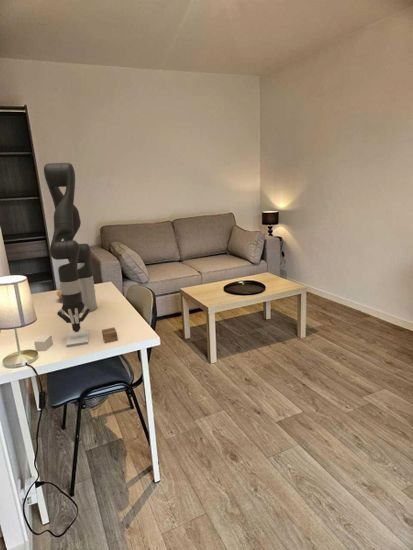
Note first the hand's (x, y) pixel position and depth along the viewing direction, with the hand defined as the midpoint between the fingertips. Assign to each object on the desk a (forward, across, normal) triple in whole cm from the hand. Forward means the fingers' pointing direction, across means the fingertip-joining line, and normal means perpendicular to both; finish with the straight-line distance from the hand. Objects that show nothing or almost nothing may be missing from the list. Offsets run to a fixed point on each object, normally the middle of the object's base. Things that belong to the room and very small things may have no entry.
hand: (76, 331), depth 147 cm
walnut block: (+4, -13, +4) cm, 14 cm away
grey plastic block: (+4, +12, +4) cm, 13 cm away
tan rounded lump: (+4, +8, -58) cm, 58 cm away
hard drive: (+4, 0, 0) cm, 4 cm away
